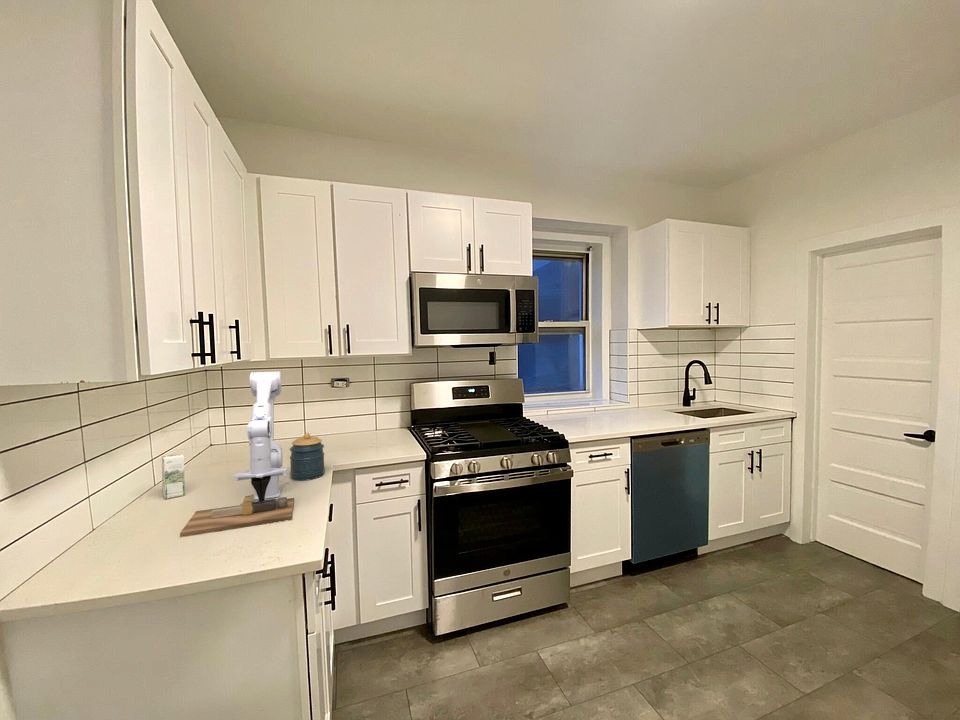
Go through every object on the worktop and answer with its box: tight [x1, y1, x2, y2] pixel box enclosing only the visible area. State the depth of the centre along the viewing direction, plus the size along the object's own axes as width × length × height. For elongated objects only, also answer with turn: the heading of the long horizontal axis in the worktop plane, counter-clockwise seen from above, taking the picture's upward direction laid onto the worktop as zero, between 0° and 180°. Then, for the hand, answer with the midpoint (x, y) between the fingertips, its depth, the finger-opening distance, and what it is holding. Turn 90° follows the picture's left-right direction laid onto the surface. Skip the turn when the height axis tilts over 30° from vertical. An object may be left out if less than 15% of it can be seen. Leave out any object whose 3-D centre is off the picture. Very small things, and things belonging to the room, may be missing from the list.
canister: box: [289, 432, 326, 481], centre depth 164 cm, size 13×13×18 cm
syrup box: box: [161, 452, 186, 500], centre depth 143 cm, size 6×6×14 cm
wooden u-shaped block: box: [241, 494, 256, 515], centre depth 125 cm, size 6×2×4 cm, turn 22°
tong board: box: [179, 496, 295, 538], centre depth 124 cm, size 16×28×4 cm, turn 112°
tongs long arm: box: [211, 501, 276, 518], centre depth 124 cm, size 2×17×2 cm, turn 112°
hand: (261, 500), depth 127 cm, fingers closed
